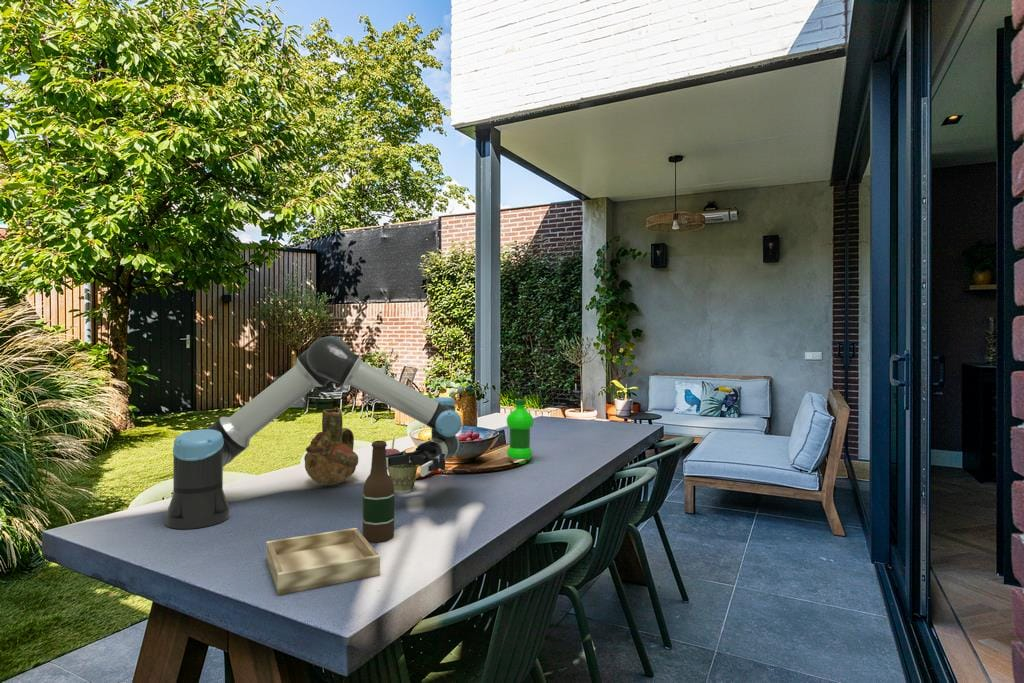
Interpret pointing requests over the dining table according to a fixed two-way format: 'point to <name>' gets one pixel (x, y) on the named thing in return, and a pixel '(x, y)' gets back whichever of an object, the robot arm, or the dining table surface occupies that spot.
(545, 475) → the dining table surface
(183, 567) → the dining table surface
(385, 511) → the beer bottle
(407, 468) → the ceramic cup
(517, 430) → the plastic bottle
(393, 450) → the cupcake
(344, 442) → the ceramic vessel
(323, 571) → the oak tray
